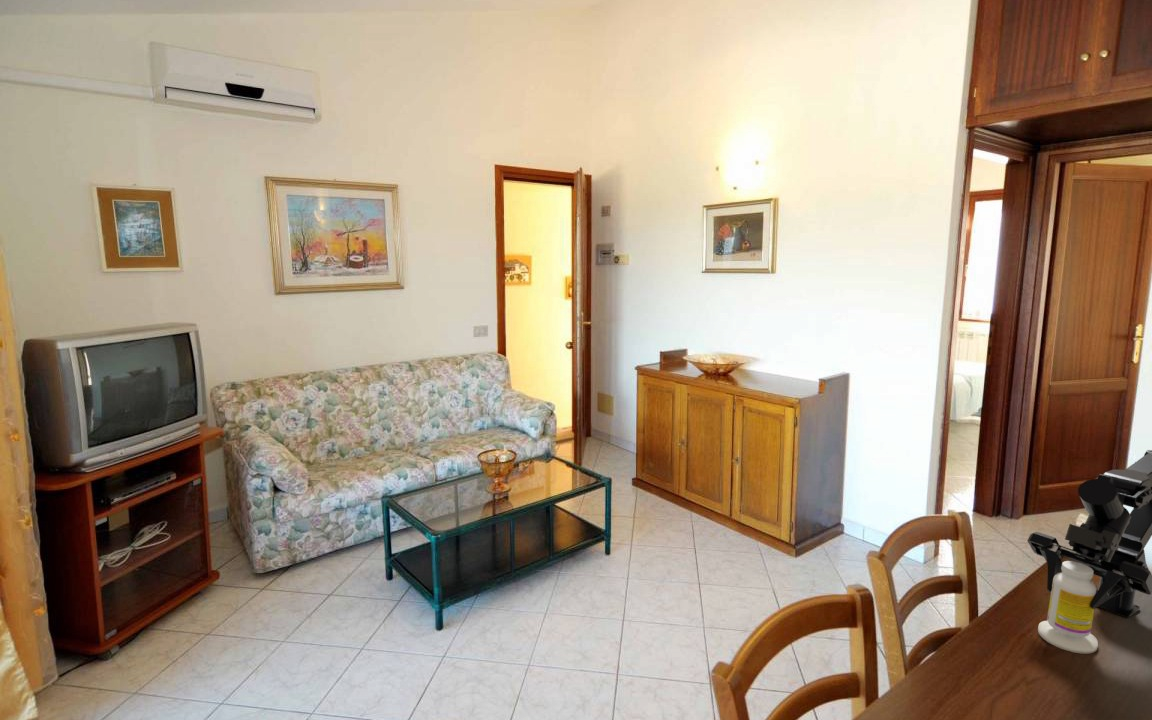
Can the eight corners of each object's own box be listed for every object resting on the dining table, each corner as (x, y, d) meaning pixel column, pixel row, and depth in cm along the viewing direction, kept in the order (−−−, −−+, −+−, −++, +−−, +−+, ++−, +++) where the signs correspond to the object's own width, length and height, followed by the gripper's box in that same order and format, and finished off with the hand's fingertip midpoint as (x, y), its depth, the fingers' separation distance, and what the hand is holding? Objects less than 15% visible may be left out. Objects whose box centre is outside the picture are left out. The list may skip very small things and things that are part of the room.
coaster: (1051, 619, 125) (1051, 615, 125) (1106, 643, 117) (1106, 638, 117) (1028, 634, 120) (1029, 629, 120) (1084, 659, 113) (1085, 654, 113)
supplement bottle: (1099, 640, 115) (1110, 577, 112) (1060, 637, 116) (1070, 575, 113) (1075, 618, 121) (1085, 559, 119) (1038, 616, 122) (1047, 557, 120)
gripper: (1037, 493, 124) (1003, 558, 121) (1157, 528, 108) (1122, 604, 105) (1051, 520, 130) (1019, 583, 126) (1168, 557, 114) (1135, 631, 110)
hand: (1069, 598), depth 117 cm, fingers closed on supplement bottle, 6 cm apart
